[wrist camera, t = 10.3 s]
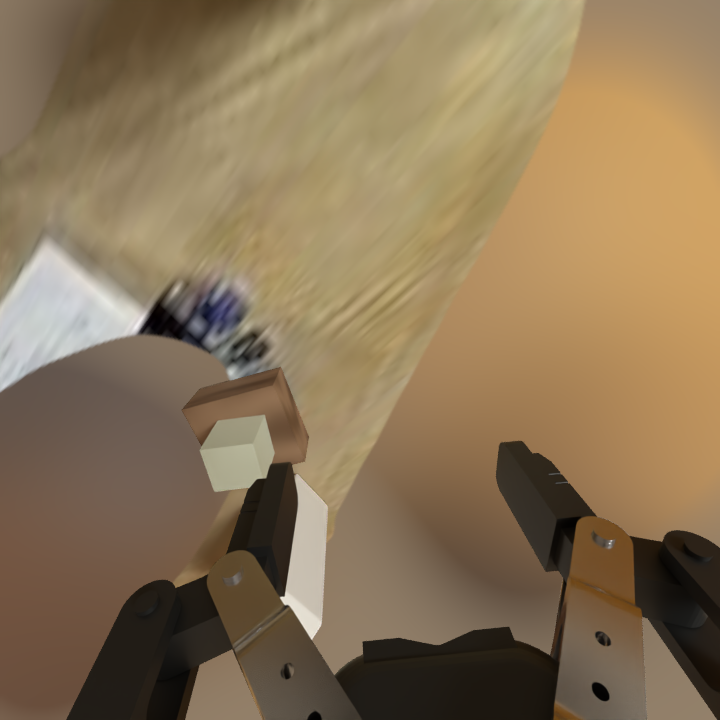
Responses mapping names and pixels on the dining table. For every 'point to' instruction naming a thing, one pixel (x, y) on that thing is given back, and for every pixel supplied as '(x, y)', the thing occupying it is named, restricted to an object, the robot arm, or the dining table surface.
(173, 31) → the dining table surface
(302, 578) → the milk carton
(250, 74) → the dining table surface
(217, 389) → the walnut block
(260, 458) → the sage cube
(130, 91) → the dining table surface
